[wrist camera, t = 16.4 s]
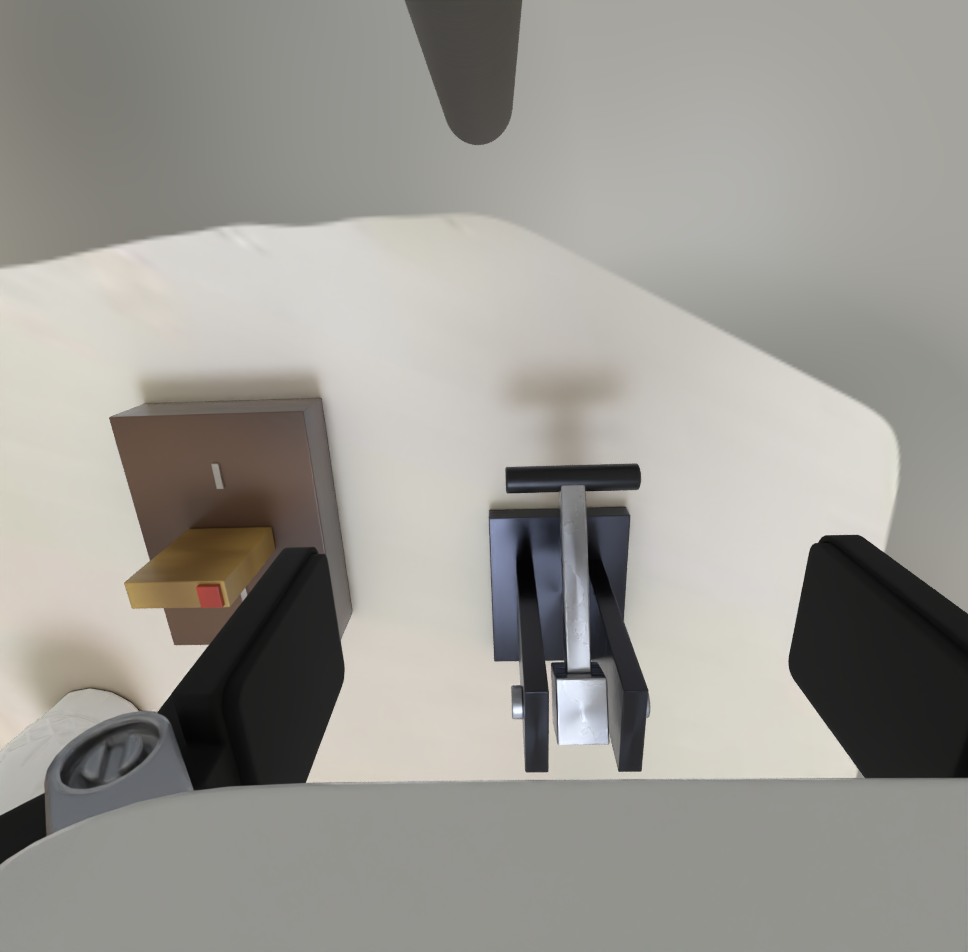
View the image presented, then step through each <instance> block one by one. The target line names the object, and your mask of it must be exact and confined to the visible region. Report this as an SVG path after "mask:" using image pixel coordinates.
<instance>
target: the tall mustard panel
mask: <svg viewBox="0 0 968 952" xmlns="http://www.w3.org/2000/svg"><path fill="white" fill-rule="evenodd" d="M274 551H275V544H274V538H273V533H272V528H271V527H253V528H206V529H188V530H187V531H185V532H184V533H183V534H182V535H181V536H179V537H178V538H177V539H176V540H175V541H173V542H172V543H171V544H170V545H169V546H167V547H166V548H165V549H164V550H163V551H161V552H160V553H159V554H158V555H157V556H155V557H154V558H153V559H152V560H151V561H150V562H148V563H147V564H146V565H145V566H144V567H142V568H141V569H140V570H139V571H138V572H136V573H135V574H134V575H133V576H132V577H130V578H129V579H128V580H127V581H126V582H125V583H124V584H125V587H126V591H127V594H128V597H129V600H130V604H131V607H132V608H133V609H135V608H198V607H201V608H222V607H230V606H231V605H232V604H233V602H234V601H235V600H236V599H237V597H238V596H239V595H240V594H241V592H242V591H243V590H244V589H245V587H246V586H247V585H248V584H249V582H250V581H251V580H252V579H253V577H254V576H255V575H256V574H257V572H258V571H259V570H260V569H261V567H262V566H263V565H264V564H265V562H266V561H267V560H268V558H269V557H270V556H271V555H272V553H273V552H274Z"/></svg>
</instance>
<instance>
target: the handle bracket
mask: <svg viewBox="0 0 968 952" xmlns="http://www.w3.org/2000/svg"><path fill="white" fill-rule="evenodd" d="M586 519H587V549H588V580H589V610H590V640H591V660H592V662H598V664H599V666H600V667H601V669H602V671H603V673H604V674H605V676H606V678H607V688H608V717H609V734H610V738H611V742H612V747H613V751H614V755H615V759H616V763H617V767H618V771H619V772H640V771H642V760H643V748H644V736H645V725H646V718H648V717H649V715H650V699H649V693H648V688H647V685H646V682H645V680H644V677H643V674H642V671H641V668H640V666H639V663H638V660H637V657H636V655H635V652H634V649H633V646H632V643H631V641H630V638H629V635H628V632H627V629H626V627H625V624H624V607H625V591H626V575H627V559H628V543H629V527H630V514H629V512H628V511H627V509H626V507H604V508H586ZM489 536H490V562H491V588H492V615H493V641H494V661H519V666H520V684H521V685H516V686H512V687H511V694H512V718H513V719H522V721H523V739H524V758H525V771H526V772H548V744H549V690H548V681H547V673H546V665H545V661H553V660H564V637H563V605H562V573H561V540H560V509H522V510H490V511H489Z"/></svg>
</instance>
